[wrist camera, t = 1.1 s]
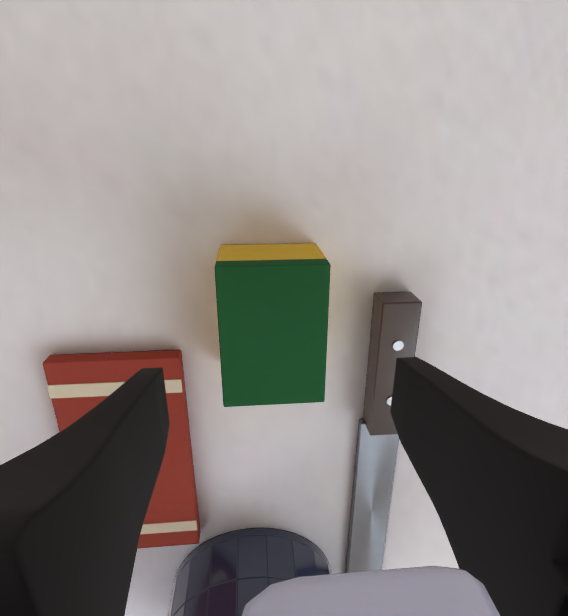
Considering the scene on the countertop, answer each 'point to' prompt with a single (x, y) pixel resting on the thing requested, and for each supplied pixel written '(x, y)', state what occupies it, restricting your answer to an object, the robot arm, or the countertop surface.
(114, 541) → the robot arm
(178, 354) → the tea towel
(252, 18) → the countertop surface
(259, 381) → the sponge
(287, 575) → the pot
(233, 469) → the countertop surface
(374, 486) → the knife
